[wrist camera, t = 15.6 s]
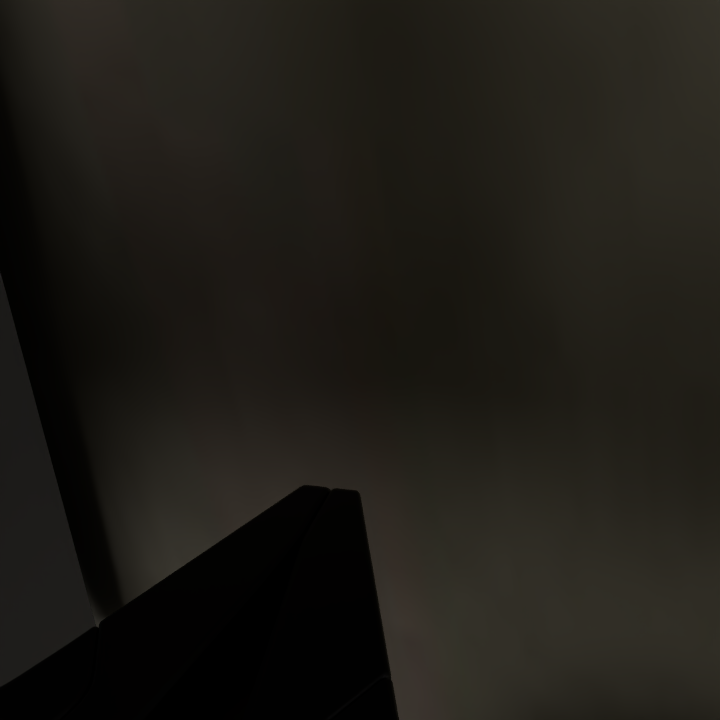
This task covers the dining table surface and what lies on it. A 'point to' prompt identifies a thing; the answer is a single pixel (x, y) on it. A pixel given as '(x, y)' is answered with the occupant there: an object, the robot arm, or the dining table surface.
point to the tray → (31, 527)
